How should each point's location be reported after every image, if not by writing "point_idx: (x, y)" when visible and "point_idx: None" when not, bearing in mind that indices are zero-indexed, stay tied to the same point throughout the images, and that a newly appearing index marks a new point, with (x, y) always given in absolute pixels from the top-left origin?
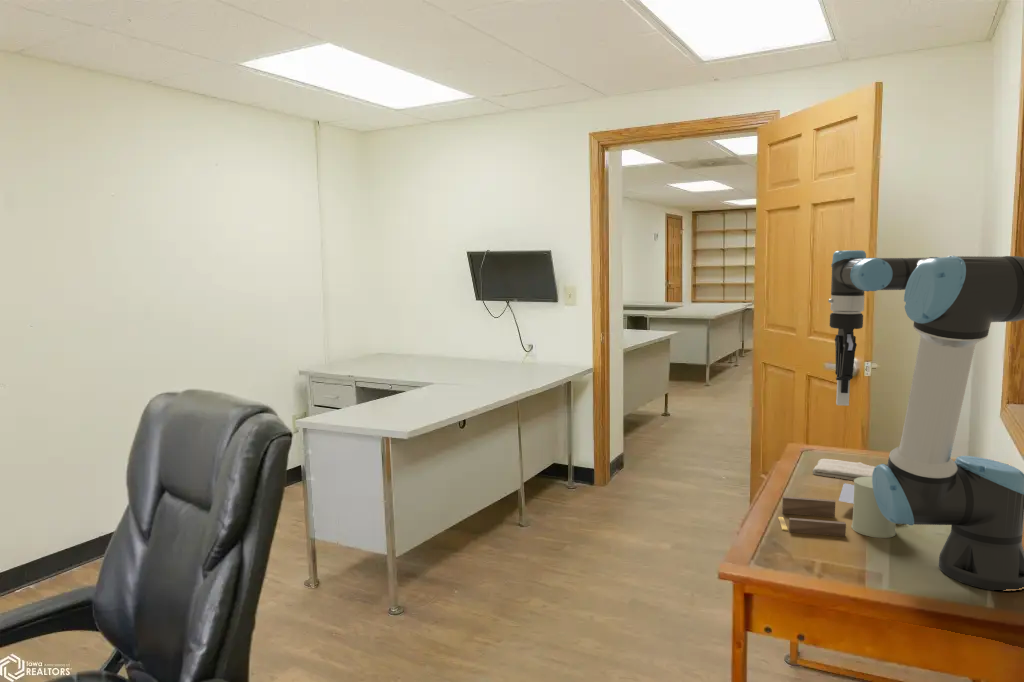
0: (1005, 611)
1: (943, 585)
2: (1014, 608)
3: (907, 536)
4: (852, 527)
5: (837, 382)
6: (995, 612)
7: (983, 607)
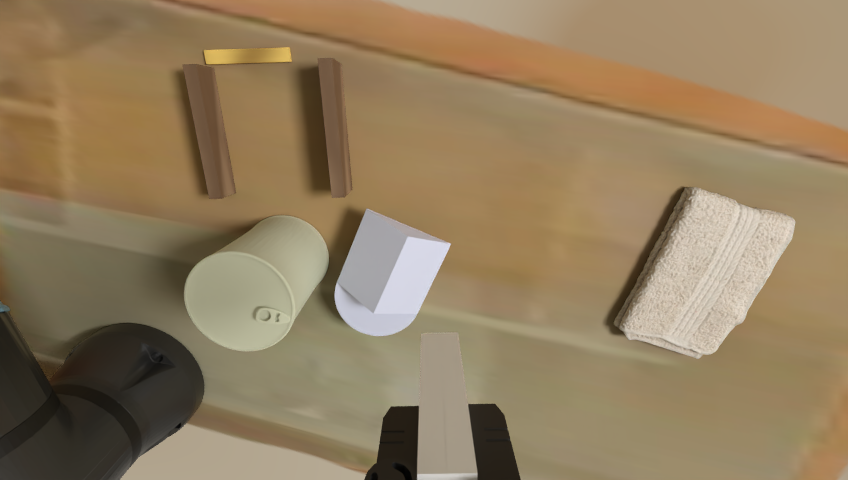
0: None
1: (65, 311)
2: None
3: None
4: (277, 216)
5: (455, 446)
6: None
7: None
